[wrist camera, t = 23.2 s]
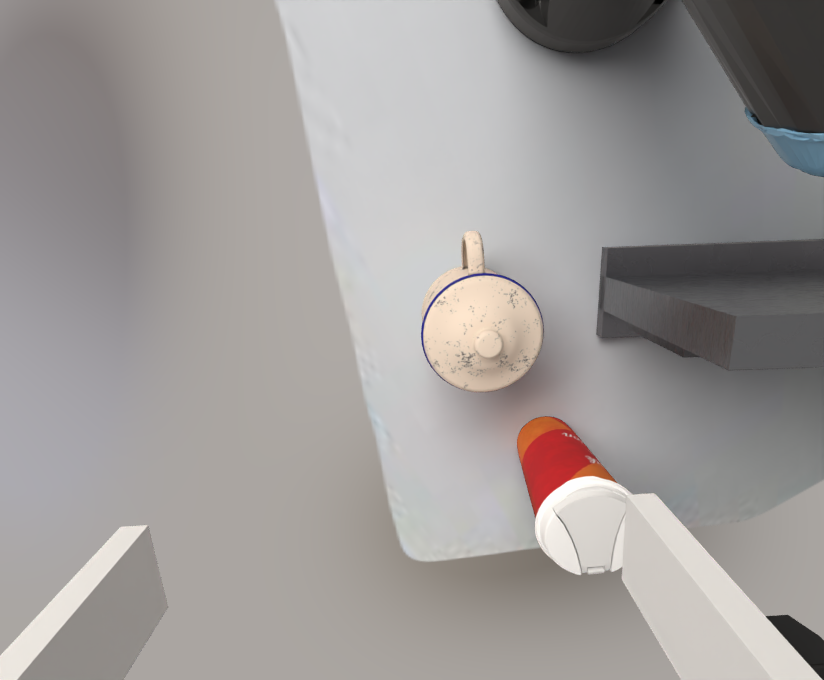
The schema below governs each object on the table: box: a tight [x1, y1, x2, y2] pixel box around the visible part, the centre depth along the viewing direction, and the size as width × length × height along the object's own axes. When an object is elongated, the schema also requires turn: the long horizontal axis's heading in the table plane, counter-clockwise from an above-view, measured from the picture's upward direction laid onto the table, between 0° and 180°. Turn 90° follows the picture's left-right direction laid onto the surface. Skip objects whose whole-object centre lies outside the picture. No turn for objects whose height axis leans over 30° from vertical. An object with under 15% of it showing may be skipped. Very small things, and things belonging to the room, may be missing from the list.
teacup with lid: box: [421, 231, 544, 392], centre depth 37 cm, size 12×9×12 cm
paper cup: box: [517, 416, 632, 575], centre depth 39 cm, size 8×8×14 cm
